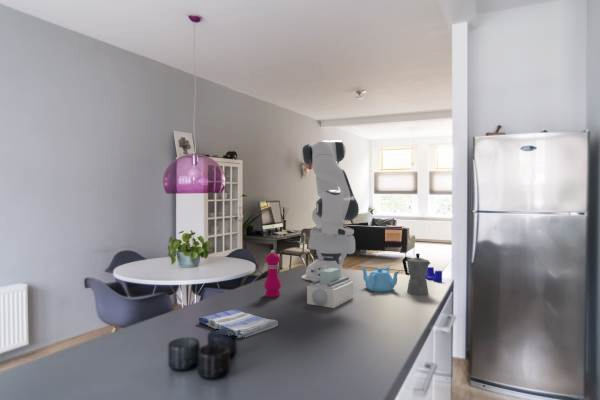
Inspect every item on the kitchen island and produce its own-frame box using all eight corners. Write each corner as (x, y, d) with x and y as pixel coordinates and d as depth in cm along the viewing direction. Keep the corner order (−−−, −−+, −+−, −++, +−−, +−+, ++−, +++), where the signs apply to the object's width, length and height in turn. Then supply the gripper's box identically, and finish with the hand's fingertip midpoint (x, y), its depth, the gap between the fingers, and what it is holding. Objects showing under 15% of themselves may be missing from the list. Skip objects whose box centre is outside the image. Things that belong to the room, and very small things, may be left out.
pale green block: (320, 283, 166) (320, 271, 166) (332, 278, 175) (332, 267, 175) (329, 284, 163) (329, 272, 163) (341, 279, 173) (341, 268, 173)
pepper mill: (282, 293, 182) (282, 248, 181) (279, 297, 174) (279, 251, 174) (266, 293, 182) (266, 248, 182) (263, 297, 175) (263, 250, 175)
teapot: (368, 294, 181) (368, 271, 181) (359, 286, 196) (359, 265, 196) (400, 293, 183) (400, 270, 183) (389, 285, 198) (389, 264, 198)
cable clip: (424, 278, 217) (424, 267, 217) (432, 278, 217) (432, 267, 217) (433, 283, 205) (433, 271, 205) (442, 283, 205) (442, 271, 205)
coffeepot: (436, 295, 179) (436, 254, 179) (422, 298, 174) (422, 256, 174) (409, 288, 192) (409, 250, 192) (395, 291, 187) (395, 252, 186)
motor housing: (306, 304, 164) (306, 281, 164) (331, 293, 182) (331, 273, 182) (332, 308, 157) (332, 285, 157) (355, 296, 176) (355, 276, 176)
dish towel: (239, 340, 124) (239, 331, 124) (196, 324, 140) (196, 316, 140) (280, 327, 137) (280, 318, 137) (236, 313, 153) (236, 305, 153)
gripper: (306, 227, 171) (305, 259, 172) (351, 231, 161) (349, 266, 161) (314, 226, 177) (313, 257, 177) (357, 230, 166) (356, 264, 167)
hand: (330, 262), depth 169 cm, fingers open, 8 cm apart
